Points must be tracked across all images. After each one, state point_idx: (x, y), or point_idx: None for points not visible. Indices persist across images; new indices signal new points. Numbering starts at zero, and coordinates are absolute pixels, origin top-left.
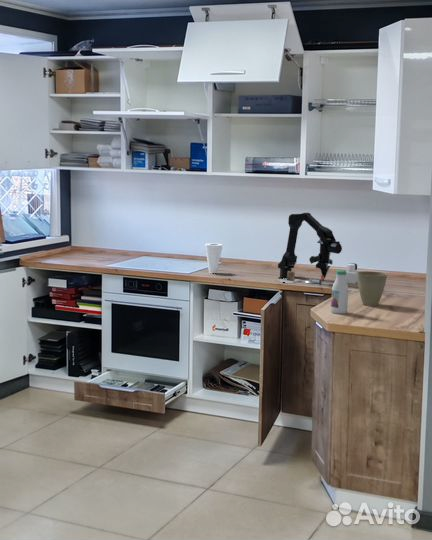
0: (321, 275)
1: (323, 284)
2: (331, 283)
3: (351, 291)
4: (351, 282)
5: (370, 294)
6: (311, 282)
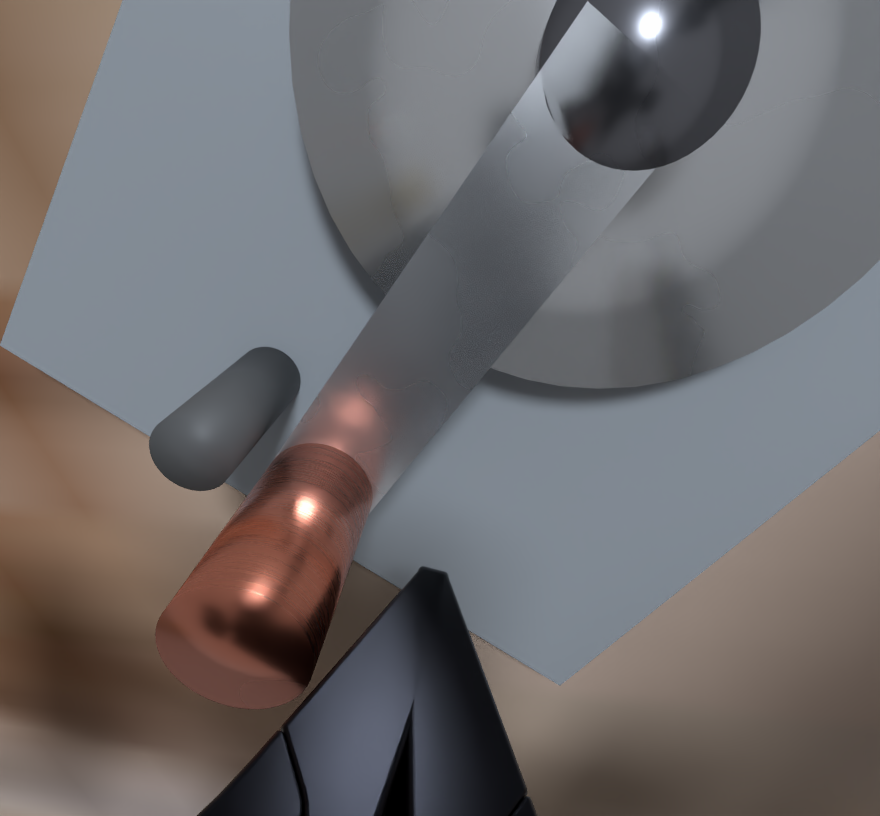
0: (181, 608)
1: None
2: (581, 659)
3: (11, 808)
4: None
5: None
6: (296, 74)
